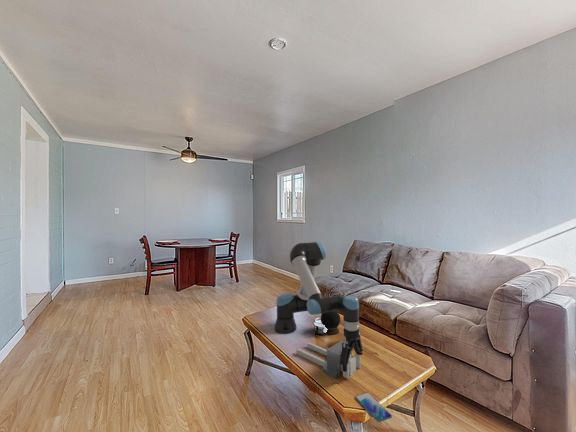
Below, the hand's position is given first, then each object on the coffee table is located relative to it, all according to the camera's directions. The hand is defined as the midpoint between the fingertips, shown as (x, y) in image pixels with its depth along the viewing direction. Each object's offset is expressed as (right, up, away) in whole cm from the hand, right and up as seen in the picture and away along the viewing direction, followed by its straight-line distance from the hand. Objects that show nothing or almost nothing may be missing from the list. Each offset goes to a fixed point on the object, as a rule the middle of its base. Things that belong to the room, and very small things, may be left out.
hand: (352, 372), depth 132 cm
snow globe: (-3, 0, +46) cm, 46 cm away
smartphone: (+3, -1, -23) cm, 23 cm away
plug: (-5, 0, +5) cm, 7 cm away
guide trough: (-15, 0, +15) cm, 21 cm away
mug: (+8, 0, +29) cm, 30 cm away
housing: (-5, 0, +5) cm, 7 cm away
